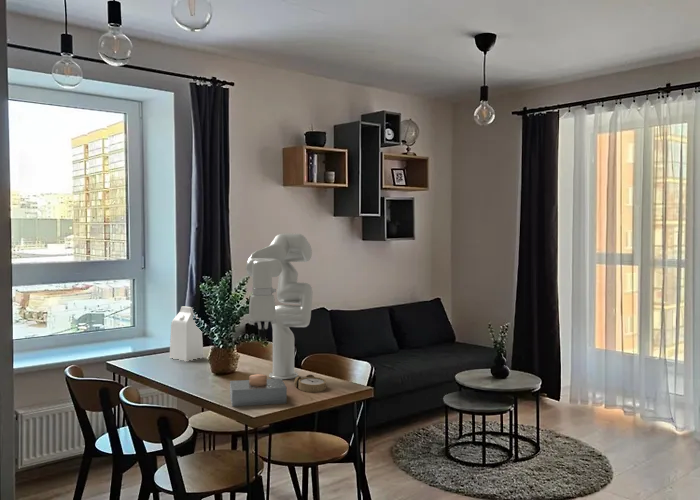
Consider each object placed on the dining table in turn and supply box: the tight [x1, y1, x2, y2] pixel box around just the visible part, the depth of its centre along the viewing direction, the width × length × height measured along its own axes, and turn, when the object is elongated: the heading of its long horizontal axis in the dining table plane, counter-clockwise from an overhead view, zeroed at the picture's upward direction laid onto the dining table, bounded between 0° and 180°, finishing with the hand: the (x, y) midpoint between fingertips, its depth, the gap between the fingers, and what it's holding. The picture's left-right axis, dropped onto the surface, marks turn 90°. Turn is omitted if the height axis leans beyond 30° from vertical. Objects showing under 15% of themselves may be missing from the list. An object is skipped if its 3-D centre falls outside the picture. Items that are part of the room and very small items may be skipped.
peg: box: [248, 373, 268, 386], centre depth 246 cm, size 7×7×8 cm
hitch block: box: [229, 378, 288, 408], centre depth 246 cm, size 15×20×6 cm
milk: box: [168, 305, 204, 362], centre depth 325 cm, size 12×12×26 cm
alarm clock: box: [293, 374, 329, 393], centre depth 266 cm, size 11×5×15 cm
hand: (262, 338), depth 252 cm, fingers closed
